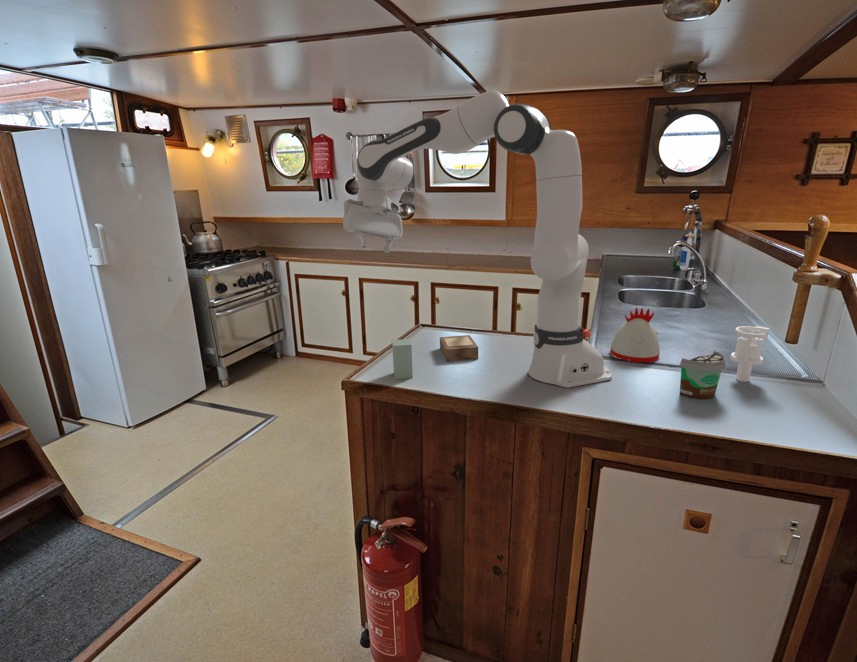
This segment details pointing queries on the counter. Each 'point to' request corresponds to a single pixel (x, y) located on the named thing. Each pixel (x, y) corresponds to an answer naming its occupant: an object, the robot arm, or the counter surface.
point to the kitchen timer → (636, 339)
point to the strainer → (748, 350)
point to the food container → (701, 375)
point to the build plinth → (458, 348)
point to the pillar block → (402, 359)
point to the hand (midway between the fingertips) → (374, 250)
